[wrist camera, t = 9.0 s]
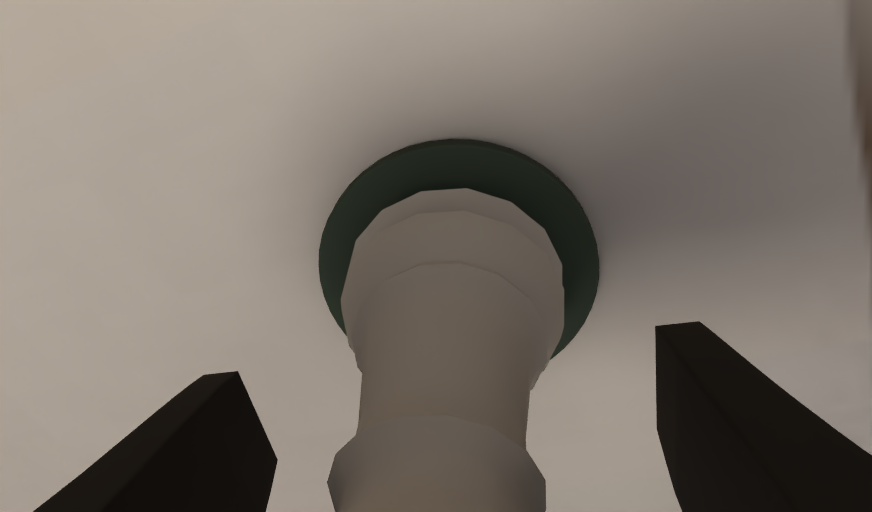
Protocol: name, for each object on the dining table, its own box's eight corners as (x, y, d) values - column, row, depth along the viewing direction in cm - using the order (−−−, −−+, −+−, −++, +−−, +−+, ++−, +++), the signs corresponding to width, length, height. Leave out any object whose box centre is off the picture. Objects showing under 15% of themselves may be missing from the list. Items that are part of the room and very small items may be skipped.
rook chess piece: (391, 374, 14) (292, 831, 7) (319, 209, 12) (70, 609, 5) (579, 338, 13) (696, 824, 6) (535, 151, 11) (633, 542, 4)
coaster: (603, 363, 13) (606, 374, 13) (360, 388, 14) (357, 399, 14) (586, 114, 11) (590, 120, 10) (287, 164, 12) (281, 170, 11)
